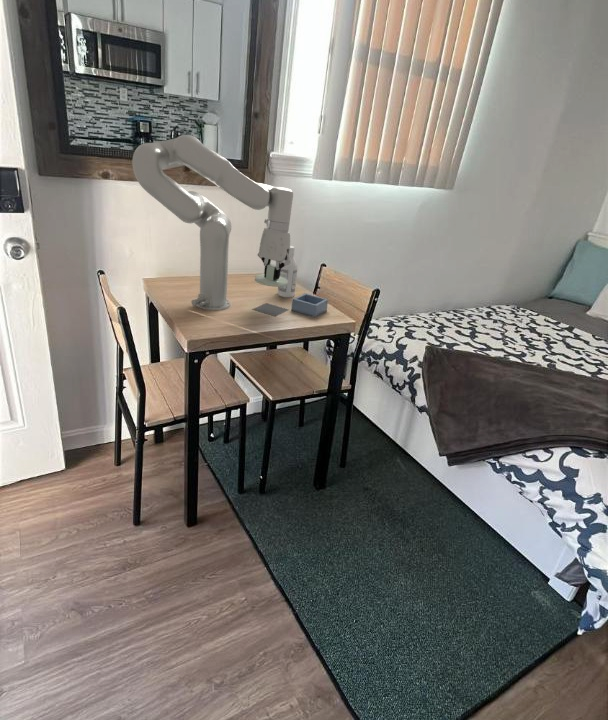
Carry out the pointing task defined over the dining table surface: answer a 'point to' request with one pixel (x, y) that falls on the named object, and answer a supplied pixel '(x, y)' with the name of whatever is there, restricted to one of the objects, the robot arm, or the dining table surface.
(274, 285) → the lid
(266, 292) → the dining table surface
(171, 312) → the dining table surface
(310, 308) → the dish
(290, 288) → the bath foam
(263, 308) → the mat
